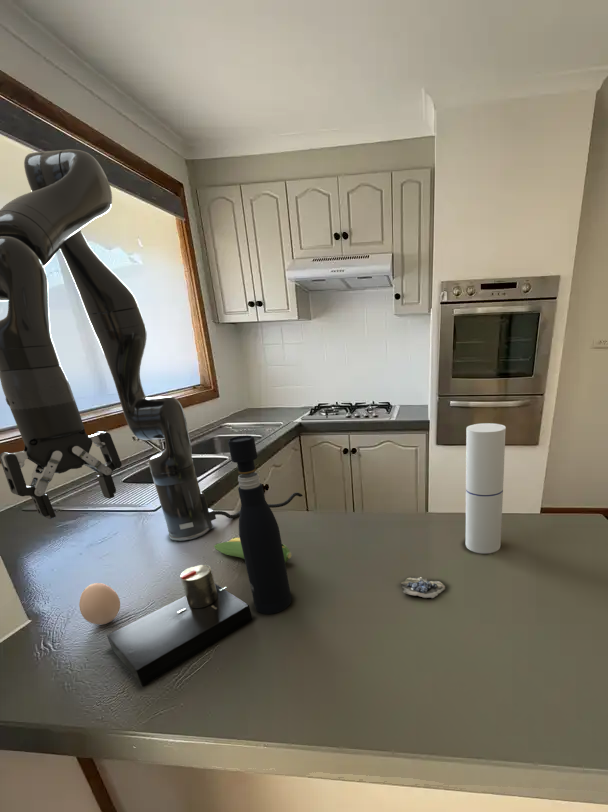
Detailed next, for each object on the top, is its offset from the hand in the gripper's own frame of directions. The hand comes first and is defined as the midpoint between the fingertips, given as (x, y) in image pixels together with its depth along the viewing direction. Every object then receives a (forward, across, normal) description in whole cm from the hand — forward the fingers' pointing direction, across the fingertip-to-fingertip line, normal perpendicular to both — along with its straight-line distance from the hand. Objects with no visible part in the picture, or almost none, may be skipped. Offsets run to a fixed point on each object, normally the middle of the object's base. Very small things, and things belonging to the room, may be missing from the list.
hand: (81, 506), depth 66 cm
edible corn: (+22, +25, -5) cm, 34 cm away
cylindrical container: (+22, +51, -47) cm, 73 cm away
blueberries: (+22, +32, -43) cm, 57 cm away
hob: (+22, +3, -14) cm, 26 cm away
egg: (+22, -2, +2) cm, 22 cm away
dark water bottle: (+22, +16, -21) cm, 34 cm away
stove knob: (+19, +8, -12) cm, 24 cm away
